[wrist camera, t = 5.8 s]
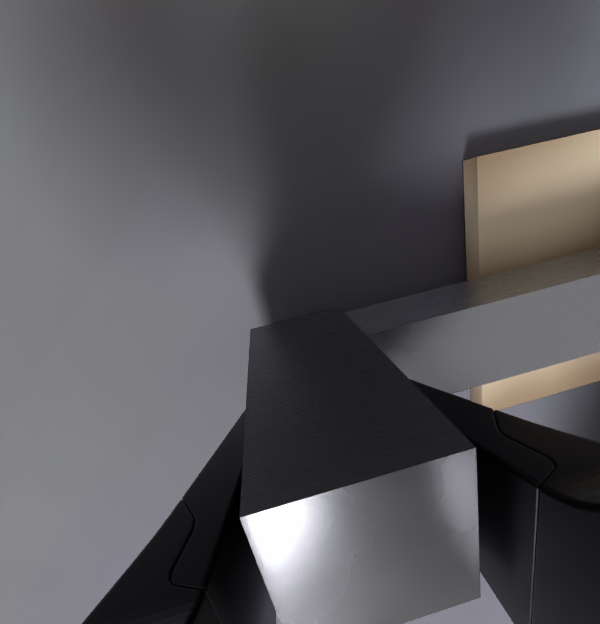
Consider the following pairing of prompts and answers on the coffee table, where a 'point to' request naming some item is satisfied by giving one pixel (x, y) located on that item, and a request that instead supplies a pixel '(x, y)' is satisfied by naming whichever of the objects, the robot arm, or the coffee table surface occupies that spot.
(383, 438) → the grey metal bar
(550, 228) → the rail
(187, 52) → the coffee table surface
